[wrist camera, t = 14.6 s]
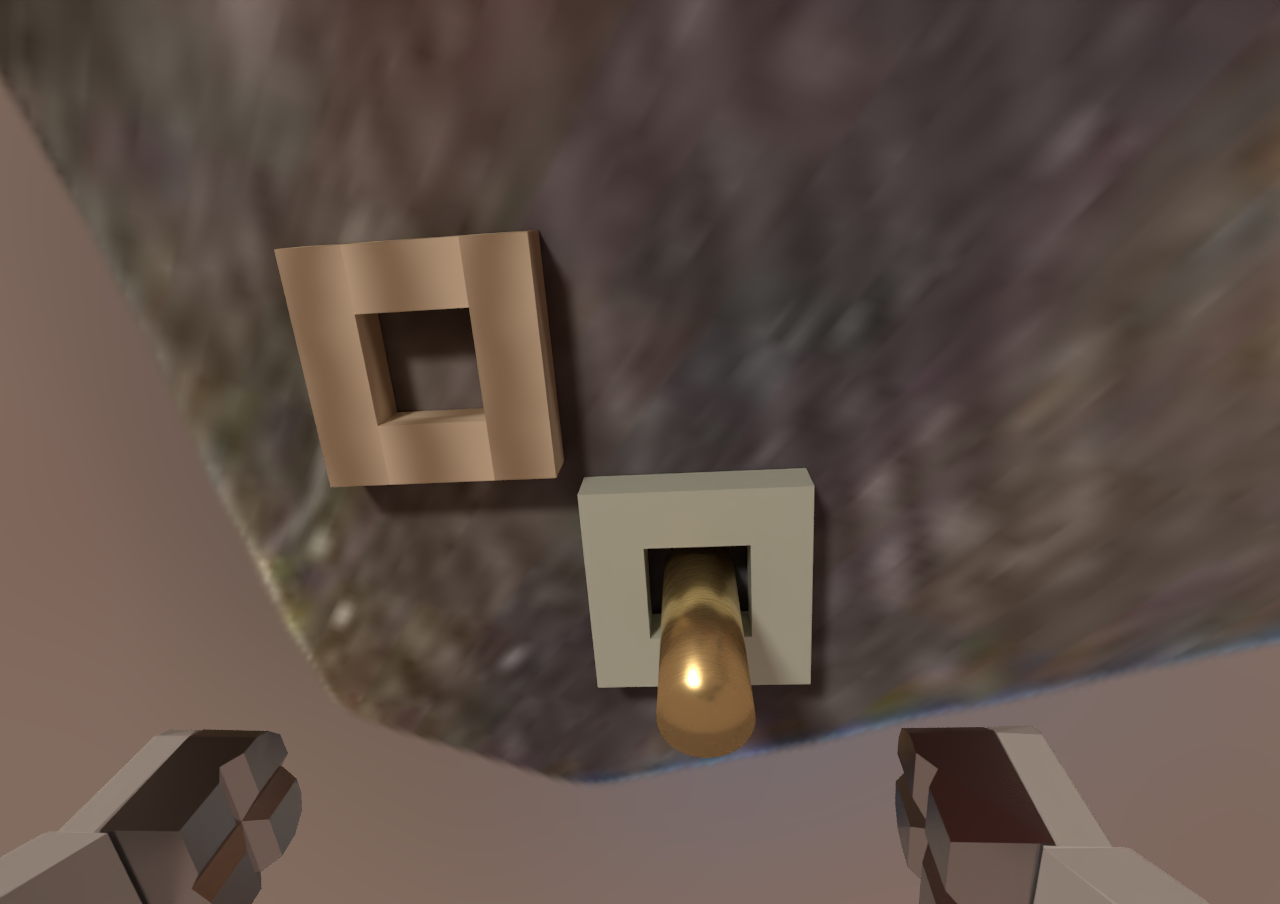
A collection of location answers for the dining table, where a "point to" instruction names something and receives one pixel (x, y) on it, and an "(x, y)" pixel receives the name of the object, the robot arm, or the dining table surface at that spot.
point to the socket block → (699, 517)
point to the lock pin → (703, 656)
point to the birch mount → (359, 374)
